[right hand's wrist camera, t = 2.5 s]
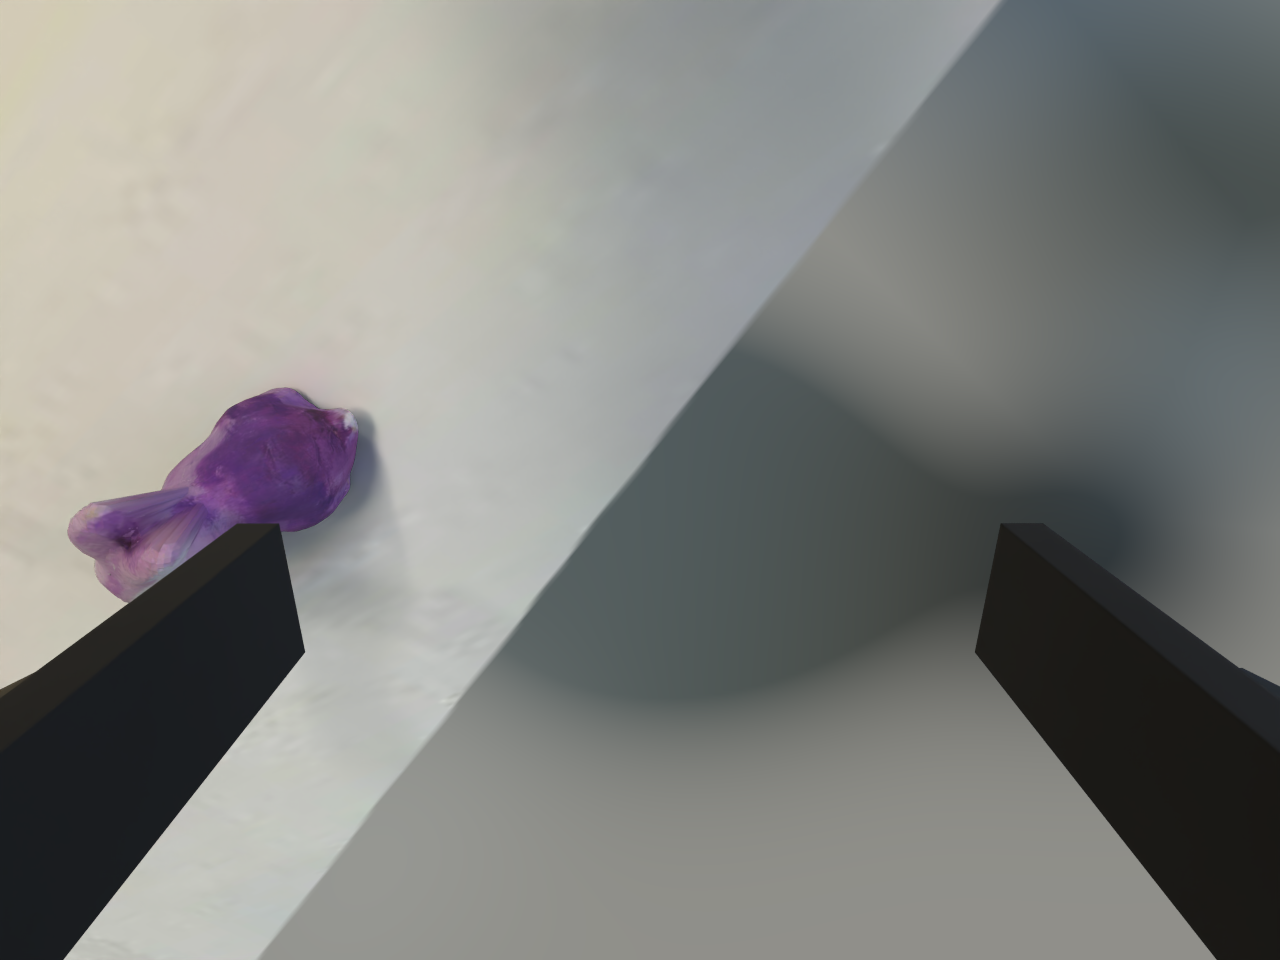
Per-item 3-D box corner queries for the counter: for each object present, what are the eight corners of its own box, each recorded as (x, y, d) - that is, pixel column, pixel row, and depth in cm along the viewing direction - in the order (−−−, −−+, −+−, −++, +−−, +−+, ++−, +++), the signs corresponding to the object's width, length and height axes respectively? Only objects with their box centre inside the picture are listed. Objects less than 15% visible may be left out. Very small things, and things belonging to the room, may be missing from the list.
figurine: (213, 518, 45) (18, 651, 31) (215, 368, 41) (-3, 441, 27) (357, 548, 46) (231, 691, 32) (372, 402, 42) (238, 490, 28)
